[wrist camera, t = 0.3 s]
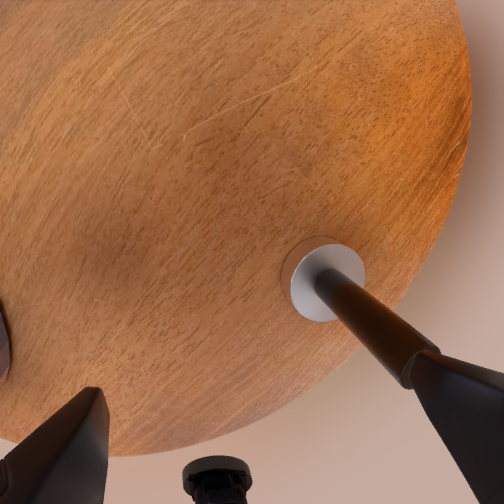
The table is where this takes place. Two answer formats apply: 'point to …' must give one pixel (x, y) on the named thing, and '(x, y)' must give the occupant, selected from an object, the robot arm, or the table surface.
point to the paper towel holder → (349, 303)
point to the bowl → (3, 352)
